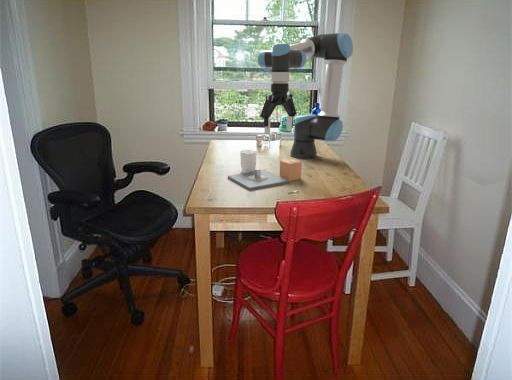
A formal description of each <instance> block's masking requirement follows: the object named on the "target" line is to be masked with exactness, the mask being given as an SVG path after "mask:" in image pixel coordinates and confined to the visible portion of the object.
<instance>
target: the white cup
mask: <svg viewBox="0 0 512 380" xmlns="http://www.w3.org/2000/svg"><path fill="white" fill-rule="evenodd" d="M239 153H240V155H239V156H240V167H241V173H248V172H254V169H257V158H258V157H257V155H258V154H257V153H258V151H257V150H254V149H242V150H240V152H239Z"/></svg>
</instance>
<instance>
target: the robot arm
mask: <svg viewBox="0 0 512 380" xmlns="http://www.w3.org/2000/svg"><path fill="white" fill-rule="evenodd" d="M353 51H354V44H353V40H352V36H351V35H349V34H348V33H346V32H345V33H344V32H338V33H335V32H334V33H322V34H317V35H313V36H310V37H308V38H304V39H302V40H301V41H300V42H297V43H293V44H289V43H274V44H273V45H272V46H271V50H266V49H265V50H261V51H260V52H259V53H258V55H257V63H258V66H259V67H261V68H262V69H263V68H265V69H271V72H270V73H271V74H270V75H271V77H270V78H271V79H270V81H271V82H272V83H271V84H270V92H271V94H266V95H265V100H264V101H265V102H264V104H263V107H262V109H261V111H260V115H259V117H260V118H261V119H263V127H264V134H265V135H271V118H270V117H271V116H272V114H273V113H274V110H275V108H276V107H278V106H282V107H283V108H284V110H285V113H286V114H287V115H286V127H285V131H287V132H292V131H293V127H294V132H293V133H294V135H293V144H292V147H291V149H290V157H292V158H294V159H295V158H296V159H303V160H304V159H314V158H317V156H318V151H317V147H316V141H315V140H319V141H326V142H336V141H337V140H338V139H339V138H340V137H341V135H342V131H343V129H344V125H343V121H342V120H341V119H340V115H339V113H338V109H339V102H340V101H339V100H340V92H341V88H342V86H341V85H342V84H341V83H342V78H343V69H344V65H346V64H347V62H348V59H350V58H351V56H352V55H353ZM310 58H315V59H323V62H324V63H325V73H324V81H323V90H322V99H321V107H320V108H321V109H320V112H319V113H318V114H304V115H298V116H296V115H297V110H296V106H295V103H294V99H293V93H288V92H289V89H290V88H289V86H290V85H289V83H288V82H290V69H301V68H303V67H304V66H305V65H306V63H307V59H310ZM295 116H296V117H295ZM294 117H295V118H294ZM293 119H294V120H293ZM293 121H294V126H293Z"/></svg>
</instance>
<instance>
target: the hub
mask: <svg viewBox="0 0 512 380" xmlns="http://www.w3.org/2000/svg"><path fill="white" fill-rule="evenodd" d="M227 179H228V180H230V181H232V182H234V183H236V184H238V185H239V186H241V187H243V188H244V189H246V190H248V191H254V190H259V189H264V188H265V189H266V188H271V187H276V186H281V185H287V184H290V181H289V180H287V179H284V178H282V177H280V175H278V174H275V173H273V172H271V171H269V170H266V169H261V168H256V169H254V172H248V173H243V172H241V173H236V174H231V175H227Z"/></svg>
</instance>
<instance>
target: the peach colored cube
mask: <svg viewBox="0 0 512 380" xmlns="http://www.w3.org/2000/svg"><path fill="white" fill-rule="evenodd" d="M302 167H303V162H302V161H300V160H298V159H295V158H289V159H280V161H279V176H280V177H282V178H284V179H287V180H289V182H291V181H292V182H293V181H297V180H301V179H302Z"/></svg>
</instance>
